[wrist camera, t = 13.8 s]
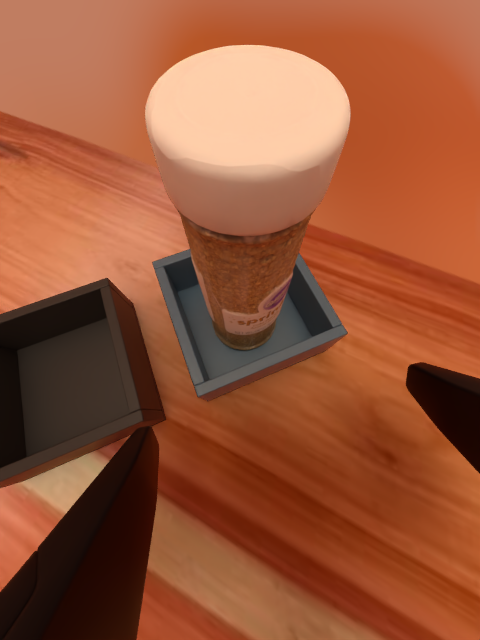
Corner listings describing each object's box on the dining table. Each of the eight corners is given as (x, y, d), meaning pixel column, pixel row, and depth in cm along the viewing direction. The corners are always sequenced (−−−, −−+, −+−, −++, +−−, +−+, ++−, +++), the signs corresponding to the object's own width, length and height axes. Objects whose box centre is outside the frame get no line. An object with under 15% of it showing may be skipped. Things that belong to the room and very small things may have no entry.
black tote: (166, 419, 16) (143, 420, 12) (22, 481, 15) (-49, 502, 11) (133, 303, 19) (107, 277, 15) (11, 347, 18) (-48, 330, 14)
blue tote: (326, 350, 17) (348, 333, 14) (207, 401, 16) (197, 397, 12) (272, 252, 20) (278, 218, 17) (168, 290, 19) (151, 261, 15)
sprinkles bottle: (258, 363, 17) (306, 201, 4) (200, 332, 17) (90, 119, 5) (286, 308, 18) (386, 62, 5) (231, 282, 19) (209, 17, 6)
